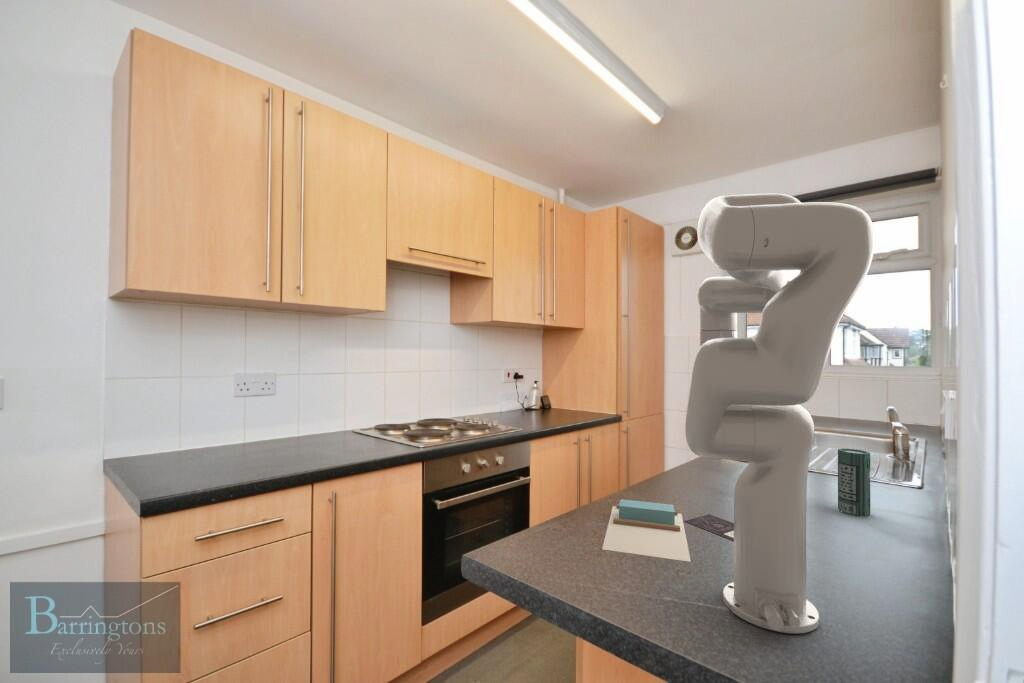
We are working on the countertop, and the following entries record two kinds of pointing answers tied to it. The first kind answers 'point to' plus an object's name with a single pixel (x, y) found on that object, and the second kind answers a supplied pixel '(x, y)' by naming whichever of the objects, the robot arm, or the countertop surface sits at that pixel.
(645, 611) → the countertop surface
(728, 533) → the chocolate bar
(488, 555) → the countertop surface
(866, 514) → the can
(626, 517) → the teal bar on plank
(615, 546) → the cream base board
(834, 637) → the countertop surface
